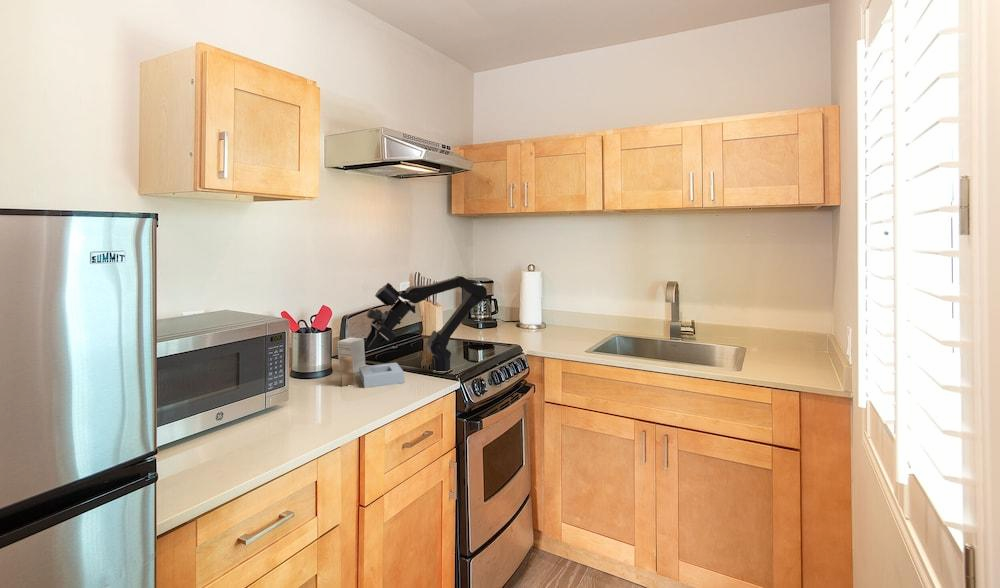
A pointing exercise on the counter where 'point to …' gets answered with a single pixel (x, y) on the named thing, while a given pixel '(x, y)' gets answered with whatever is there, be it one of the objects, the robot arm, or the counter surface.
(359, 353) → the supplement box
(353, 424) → the counter surface
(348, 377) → the walnut post
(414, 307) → the robot arm
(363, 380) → the well block
